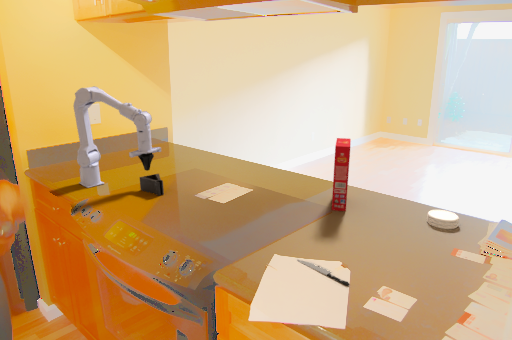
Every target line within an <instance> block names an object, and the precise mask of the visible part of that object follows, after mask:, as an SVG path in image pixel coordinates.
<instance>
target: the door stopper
mask: <svg viewBox="0 0 512 340" xmlns="http://www.w3.org/2000/svg"><path fill="white" fill-rule="evenodd" d="M139 186H140V191H141V190H142V191H141V192H145V191H146V193H149V192H150V194H153V193H154V195H156V196H158V197H160V196H164V194H165V191H164V181H163V180H162V178H161V176H160V173H156V174H151V175H150V174H148V175H144V176H139Z"/></svg>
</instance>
